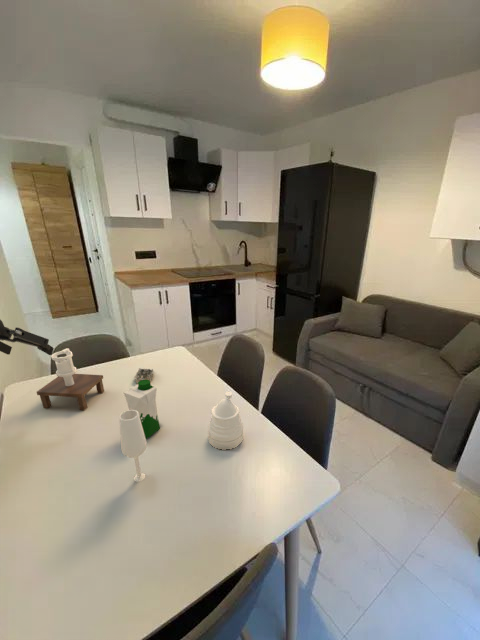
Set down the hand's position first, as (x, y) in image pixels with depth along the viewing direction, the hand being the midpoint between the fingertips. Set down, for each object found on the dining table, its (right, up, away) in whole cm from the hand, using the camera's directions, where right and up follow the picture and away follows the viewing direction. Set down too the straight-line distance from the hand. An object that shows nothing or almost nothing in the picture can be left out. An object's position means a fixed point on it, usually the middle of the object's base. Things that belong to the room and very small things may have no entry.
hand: (30, 351), depth 99 cm
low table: (-2, -21, +26) cm, 33 cm away
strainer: (-1, -14, +22) cm, 26 cm away
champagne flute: (+42, -39, -11) cm, 59 cm away
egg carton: (+21, -14, +44) cm, 51 cm away
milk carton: (+36, -30, +9) cm, 48 cm away
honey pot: (+66, -32, +8) cm, 74 cm away
